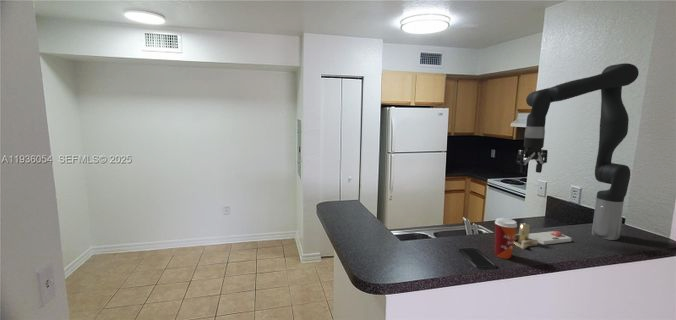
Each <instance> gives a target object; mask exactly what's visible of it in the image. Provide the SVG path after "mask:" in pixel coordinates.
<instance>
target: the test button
mask: <svg viewBox="0 0 676 320" xmlns="http://www.w3.org/2000/svg"><path fill="white" fill-rule="evenodd" d="M562 234H563V232H562V231H559V230H553V235H554V236H556V237H561V236H562Z"/></svg>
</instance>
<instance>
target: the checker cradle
mask: <svg viewBox="0 0 676 320" xmlns="http://www.w3.org/2000/svg"><path fill="white" fill-rule="evenodd" d="M553 231H554V230H553ZM553 231H552V230H551V231H543V232H532V233H529V240H535V239H536V240H538V244H542V245H552V244H553V245H554V244H561V243H568V242H572V237H570V236H567V235H565V234H563V233H562V236H561V237H556V236H554V235H553Z"/></svg>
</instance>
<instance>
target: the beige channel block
mask: <svg viewBox="0 0 676 320" xmlns="http://www.w3.org/2000/svg"><path fill="white" fill-rule="evenodd" d="M518 237H519V233H515V239H514V244H515V246H517V247H518V248H521V249H522V250H525V249H526V248H527V249H530V247H533V246H538V244H539V242H538V240H536V239H535V240H532V239H528V240H526V241H522V243H521V244H520V243H518Z"/></svg>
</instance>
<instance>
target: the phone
mask: <svg viewBox="0 0 676 320" xmlns="http://www.w3.org/2000/svg"><path fill="white" fill-rule="evenodd" d="M458 252H459V253H460V255H461V256H463V258H465V259H466V260H467V261H468V262H469V263H470V264H471V265H472V266H473V267H474V268H476V269H479V270H481V269H485V270H486V269H487V270H488V269H497V267H498V265H497V264H496V263H495V262H494V261H492V260H491V259H490V258H489V257H488V256H486V255H485V253H483V252H482V251H481V250H479V249H478V248H474V247H471V248H458Z"/></svg>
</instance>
